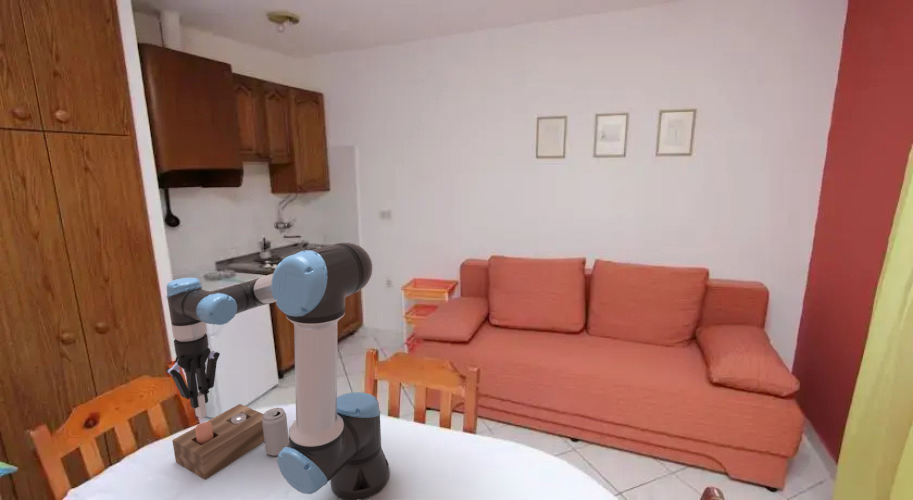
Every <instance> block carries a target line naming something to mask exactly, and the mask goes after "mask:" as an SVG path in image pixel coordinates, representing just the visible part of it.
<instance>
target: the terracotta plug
mask: <svg viewBox="0 0 913 500" xmlns="http://www.w3.org/2000/svg"><path fill="white" fill-rule="evenodd" d="M194 428H195V431H196V438H197V443H198V444H200V445H203V444H205V443H206V442H208V441H210V440H212V439H213V438H214V435H213V428H212V423H211V422H207V421H205V422H203V421H202V422H201V423H199V424H197V425H196V426H195V427H194Z"/></svg>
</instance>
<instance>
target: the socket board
mask: <svg viewBox="0 0 913 500" xmlns="http://www.w3.org/2000/svg"><path fill="white" fill-rule="evenodd" d="M238 413H245V414H246V420H245V421H243V422H241V423H239V424H238V425H234V424H232V422H231V418H232V416H234V415H236V414H238ZM263 414H264V413H262V412H260V411H258V410H255V409H253V408H250V407H248V406H246V405H243V404H241V403H238V404H236V405H235V406H233V407H232V408H229V409H227V410H226V411H224V412H222V413H221V414H218V415H216V416H214V417H212V418H210V419H209V420H207V421H206V422H211V423H212V428H213V435H214V438H213V439H212V440H210V441H208V442H206V443H205V444H203V445H200V444H198V443H197V438H196V431H195V427H194V428H192V429H190V430H187V432H184V433H183V434H180V435H179V436H177V437H176V438H173V439H172V446H173V451H174V459H175V463H177V464H179V465H180V466H182V467H183V468H184V469H187V470H188V471H190V472H192V473H194V474H195V475H196V476H198V477H199V478H201V479H203V480H207V479H208V478H210V477H211V476H213V475H214V474H216V473H217V472H219V471H221V470H222V469H224V468H225V467H227V466H229V465H230V464H232V463H233V462H234V461H237V460H238V459H239V458H241V457H242V456H244V455H245V454H247V453H249V451H251V450H253V449H254V448H256V447H257V446H259V445H260V444H262V443H263V442H264V433H263V425H262V418H263ZM264 443H265V442H264Z"/></svg>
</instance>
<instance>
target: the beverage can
mask: <svg viewBox="0 0 913 500" xmlns="http://www.w3.org/2000/svg"><path fill="white" fill-rule="evenodd" d="M262 414H263V418H262V425H263V433H264V450H265V453H266V454H267V455H269V456H274V457H276V456H278V454H279V453H280V452H281V451H282V449H283V448H284V447H287V446H288V445H289V427H288V419H287V413H286V412H285V409H284V408H282V407H273V408H270V409H268V410H266V411H265V412H264V413H262Z"/></svg>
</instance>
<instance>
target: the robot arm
mask: <svg viewBox="0 0 913 500" xmlns="http://www.w3.org/2000/svg"><path fill="white" fill-rule="evenodd" d="M372 262H373V261H372V259H371V256H370V255H369V253H368V252H367V251H366V249H364V248H363V247H362V246H360V245H358V244H356V243H352V242H338V243H335V244H330V245H326V246H323V247H318V248H315V249H314V248H312V249H309V250H307V249H305V250H302V251H299V252H296V253H295V254H290V255H288V256H287V257H285V258H283V259H282V260H281V261H280V262H279V263H278V264H277V266H276V267H275V269H274V271H273V273H270V274H267V275H263V276H261V277H257V278H254V279H251V280H248V281H243V282H241V283H238V284H232V285H230V286H227V287H222V288H218V289H215V290H205V289H202V288H203V286H202V284H201V283H202V282H201V280H200V279H199V278H197V277H181V278H177V279H173V280H171V281H169V282H168V283H167V284H166V299H167V305H168V310H169V318H170V323H171V331H172V337H173V339H174V340H173V346H174V352H175V356H176V357H175V360H174V362H175V363H174V364H173V365H172V366H171V367H168V368H167V369H166V370H165V371H166V373H167V374H168V375H170V376H171V378H172V380H173V381H174V384H175V386H176V388H177V390H178V392H179V394H180V396H181V397H182V398H184V399H187V400H190V406H191V407H192V408H193V409H194V411H195V416H196V417H198V418H199V419H203V418H205V417H207V415H208V414H207V413H208V412H207V406H206V404H207V403H209V398H208V397H209V396H208V394H209V393H210V389H212V388H214V387H215V381H216V380H215V379H216V370H217V362H218V360H219V357H220V355H221V354H220V352H219V351H216V350H211V348H209V340H208V339H209V338H208V333H207V331H208V329H207V324H209V325H216V326H222V325H226V324H228V323H229V322H230V321H232V319H234V318H235V317H236V315H237V314H240V313H244V312H246V311H248V310H252V309H255V308H258V307H261V306H265V305H269V304H272V303H275V305H276V306H277V308H278V309H279V310H280V311H281V312H282V313H283V314H285V317H286V319H287V320H288V321H289V322H291V323H292V324H293V329H294V330H293V331H294V336H293V337H294V338H293V339H294V375H295V378H294V379H295V380H294V382H295V383H294V384H295V420H293V422H292V424H291V425H290V426H289V428H288V437H289V445H288V446H287V447H284V448H283V449H282V451H281V452H280V453H279V454H278V455H277V458H276V459H277V466H278V469H279V472H280V474H281V475H282V477H283V478H284V480H286V483H288V484H289V486H291V487H292V488H293V489H295V490H296V492H299V493H301V494H305V495H312V494H314V493H317V492H318V491H319V490H320V489H322V488H324V486H326V485H328V483H329V482H330V488H331V491H332V492H333V493H334V495H335V496H336V497H338V498H340V499H343V500H357V499H361V500H365V499H368V498H370V496H371V497H373V496H374V495H376V494H377V493H380V491H382V489H384V488H385V486H386V485H387V483H388V481H389V478H390V467H389V462H388V459H387V458H386V455H385V453H384V451H383V447H382V432H381V429H382V427H381V410H380V403H379V400H378V399H377V398H376V396H374V395H372V394H370V393H367V392H361V391H359V392H357V391H356V392H348V393H343V394H341V395H339V396H338V322H339V321H340V320H341V319H342V318H344V316H345V314H346V298H347V297H348V296H351V295H353V294H355V293H359V291H361V290H362V289H364V288H365V287H366V286H367V284H368V283H369V281H370V279H371V278H372V274H373V263H372ZM180 368H181V369H182V370H183V372H184V373H185V377H186V378H185V379H186V381H185V380H184V378H183V376H182V375H181V370H180ZM367 497H368V498H367ZM364 498H365V499H364Z"/></svg>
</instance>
